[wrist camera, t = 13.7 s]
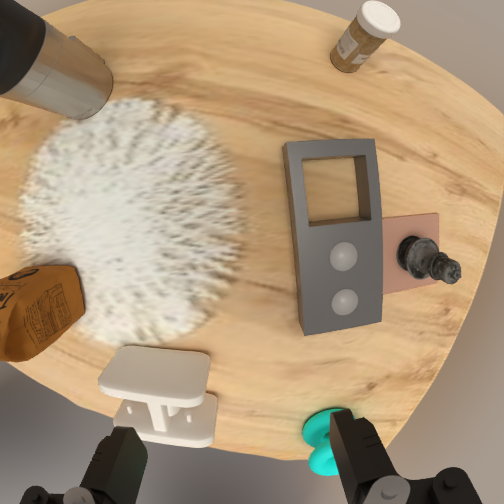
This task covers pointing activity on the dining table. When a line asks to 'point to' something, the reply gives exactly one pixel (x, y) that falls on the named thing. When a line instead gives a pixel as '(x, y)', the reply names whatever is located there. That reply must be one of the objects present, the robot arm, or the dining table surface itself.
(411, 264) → the dark chess piece
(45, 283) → the coffee package
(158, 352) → the cable organizer
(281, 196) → the dining table surface
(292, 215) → the socket strip
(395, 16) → the sprinkles bottle
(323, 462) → the donuts
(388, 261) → the tile pad
